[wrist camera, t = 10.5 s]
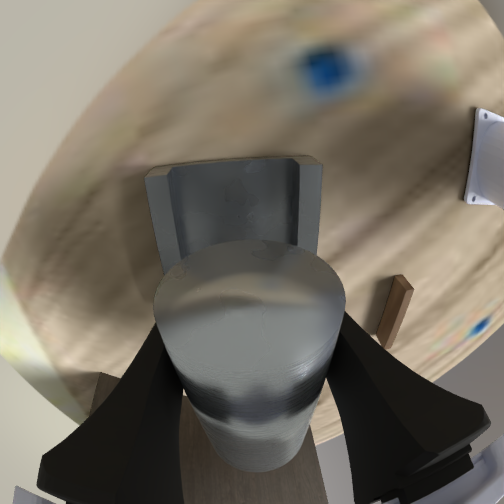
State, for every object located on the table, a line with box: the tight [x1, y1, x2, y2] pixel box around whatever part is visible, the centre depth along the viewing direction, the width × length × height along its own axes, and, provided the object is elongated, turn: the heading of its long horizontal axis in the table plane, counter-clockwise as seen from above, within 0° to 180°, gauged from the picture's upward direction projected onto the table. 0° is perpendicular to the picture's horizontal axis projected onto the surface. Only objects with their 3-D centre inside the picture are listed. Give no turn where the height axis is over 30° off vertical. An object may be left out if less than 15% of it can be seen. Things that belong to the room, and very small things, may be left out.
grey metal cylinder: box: [153, 239, 346, 472], centre depth 11 cm, size 11×5×5 cm, turn 3°
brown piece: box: [376, 275, 414, 349], centre depth 22 cm, size 8×7×2 cm
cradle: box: [144, 156, 323, 276], centre depth 17 cm, size 9×10×2 cm
